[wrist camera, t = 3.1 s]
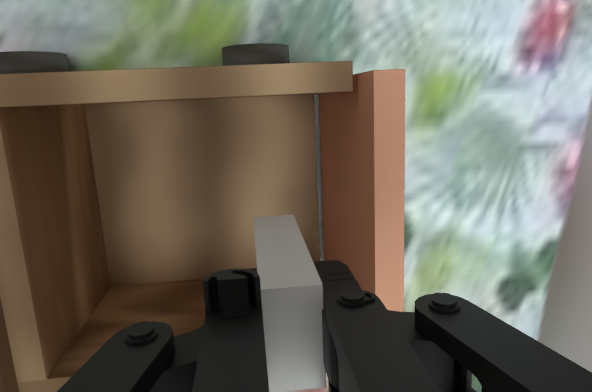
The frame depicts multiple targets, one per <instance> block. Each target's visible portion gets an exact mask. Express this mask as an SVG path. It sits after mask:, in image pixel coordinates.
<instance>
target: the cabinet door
mask: <svg viewBox="0 0 592 392" xmlns="http://www.w3.org/2000/svg"><path fill="white" fill-rule="evenodd" d="M319 117H320V147H321V177H322V207H323V238H324V261H331V260H338V261H340V262H342V263H344V264H346V265H347V266H348V268H349V269H350V271H351V273H352V274H353V276H354V277H355V279H356V281H357V282H358V284H359V285H360V287H361V289H362V290H364V291H368V292H371V293H373V294H375V295H376V296H378V297H379V298H380V300H381V301H382V303H383V304H384V306H385V307H386V309H387V310H391V311H399V312H404V174H405V69H394V70H373V71H368V72H364V73H359V74H355V75H353V91H349V92H336V93H323V94H319Z"/></svg>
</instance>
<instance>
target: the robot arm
mask: <svg viewBox="0 0 592 392" xmlns="http://www.w3.org/2000/svg"><path fill="white" fill-rule="evenodd" d="M253 218H254V233H255V248H256V262H257V268H249V269H227V270H221V271H218V272H215V273H212V274H210V275H209V276H207V277H205V279H204V280H203V292H204V303H205V313H206V315H205V321H204V325H203V326H201V327H200V328H198V329H195V330H193V331H191V332H187V333H184V334H181V335H177V336H174V335H173V330H172V328H171V326H170V325H168V324H166V323H163V322H155V321H153V322H147V321H143V322H139V323H134V324H131V325H130V326H128V327H126V328H124V329H121V330H120V331H118V332H117V333H116V334H114V335H113V336H112V337H111V338H110V339H109V340H108V341H107V342H106V343H105V344H104V345H103V346H102V347H101V348H100V349H99V350H98V351H97V352H96V353H95V354H94V355H93V356H92V357H91V358H90V359H89V360H88V361H87V362H86V363H85V364H84V365H83V366H82V367H81V368H80V369H79V370H78V371H77V372H76V373H75V374H74V375H73V376H72V377H71V378H70V379H69V380H68V381H67V382H66V383H65V384H64V385H63V386H62V387H61V388H60V389H59V390H58V391H57V392H287V391H296V390H305V389H314V388H323V387H326V373H327V376H328V380H329V392H476V391H475V390H474V389H473V388H471V384H472V373H473V374H474V375H475V376H476V377H477V378H478V380H479V382H480V383H481V385H482V392H592V373H591V372H589V371H588V370H586V369H584V368H582V367H581V366H579V365H577V364H576V363H574V362H572V361H571V360H569V359H567V358H565V357H564V356H562V355H560V354H558V353H557V352H555V351H553V350H552V349H550V348H548V347H546V346H545V345H543V344H541V343H540V342H538V341H536V340H534V339H533V338H531V337H529V336H528V335H526V334H524V333H522V332H521V331H519V330H517V329H516V328H514V327H512V326H510V325H509V324H507V323H505V322H504V321H502V320H500V319H498V318H497V317H495V316H493V315H492V314H490V313H488V312H486V311H485V310H483V309H481V308H479V307H478V306H476V305H474V304H473V303H471V302H469V301H467V300H465V299H463V298H460V297H458V296H453V295H450V294H448V293H442V294H441V293H434V294H429V295H424V296H422V297H419V298H418V299H417V300H416V301H415V313H414V312H399V311H391V310H387V309H386V307H385V306H384V304H383V303H382V301H381V300H380V298H379V297H378V296H376V295H375V294H373V293H371V292H368V291H364V290H362V289H361V287H360V285H359V284H358V282H357V281H356V279H355V277H354V276H353V274H352V273H351V271H350V269H349V268H348V266H347V265H346V264H344V263H342V262H340V261H338V260H331V261H318V262H313V260H312V258H311V255H310V253H309V251H308V248H307V246H306V244H305V241H304V239H303V236H302V234H301V232H300V229H299V227H298V224H297V222H296V220H295V217H294V215H280V216H266V217H253Z"/></svg>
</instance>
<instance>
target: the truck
mask: <svg viewBox="0 0 592 392" xmlns="http://www.w3.org/2000/svg"><path fill="white" fill-rule="evenodd" d="M222 57H223V66H205V67H178V68H151V69H125V70H98V71H71V72H69V65H68V58H67V55H66V54H62V53H53V52H29V51H21V52H0V392H57V391H58V390H59V389H60V388H61V387H62V386H63V385H64V384H65V383H66V382H67V381H68V380H69V379H70V378H71V377H72V376H73V375H74V374H75V373H76V372H77V371H78V370H79V369H80V368H81V367H82V366H83V365H84V364H85V363H86V362H87V361H88V360H89V359H90V358H91V357H92V356H93V355H94V354H95V353H96V352H97V351H98V350H99V349H100V348H101V347H102V346H103V345H104V344H105V343H106V342H107V341H108V340H109V339H110V338H111V337H112V336H113V335H114V334H116V333H117V332H118V331H120V330H121V329H124V328H126V327H128V326H130V325H131V324H134V323H139V322H143V321H147V322H153V321H155V322H163V323H166V324H168V325H170V326H171V328H172V330H173V335H174V336H177V335H181V334H184V333H187V332H191V331H193V330H195V329H198V328H200V327H201V326H203V325H204V321H205V315H206V313H205V303H204V292H203V280H204V279H205V277H207V276H209V275H210V274H212V273H215V272H218V271H221V270H227V269H249V268H257V262H256V248H255V233H254V218H253V217H266V216H280V215H294V217H295V220H296V222H297V224H298V227H299V229H300V232H301V234H302V236H303V239H304V241H305V244H306V246H307V248H308V251H309V253H310V255H311V258H312V260H313V262H318V261H320V247H319V219H318V191H317V162H316V134H315V106H314V94H323V93H336V92H349V91H353V73H352V61H338V62H311V63H289V51H288V45H284V44H243V45H233V46H227V47H224V48H222Z"/></svg>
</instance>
